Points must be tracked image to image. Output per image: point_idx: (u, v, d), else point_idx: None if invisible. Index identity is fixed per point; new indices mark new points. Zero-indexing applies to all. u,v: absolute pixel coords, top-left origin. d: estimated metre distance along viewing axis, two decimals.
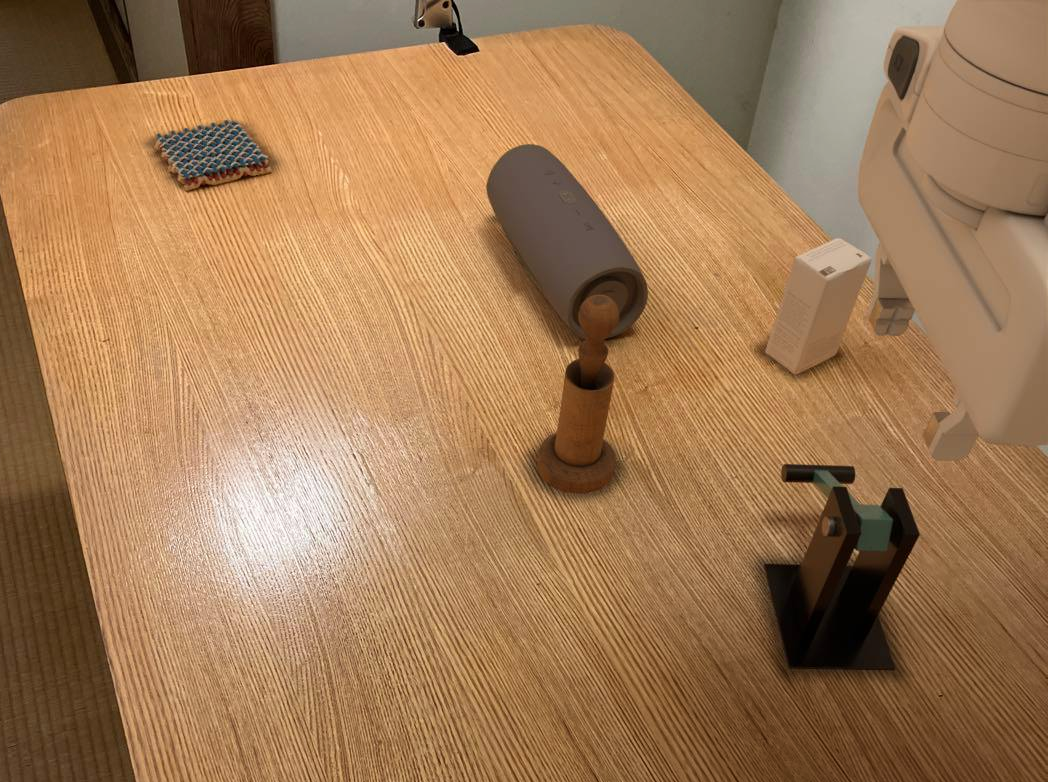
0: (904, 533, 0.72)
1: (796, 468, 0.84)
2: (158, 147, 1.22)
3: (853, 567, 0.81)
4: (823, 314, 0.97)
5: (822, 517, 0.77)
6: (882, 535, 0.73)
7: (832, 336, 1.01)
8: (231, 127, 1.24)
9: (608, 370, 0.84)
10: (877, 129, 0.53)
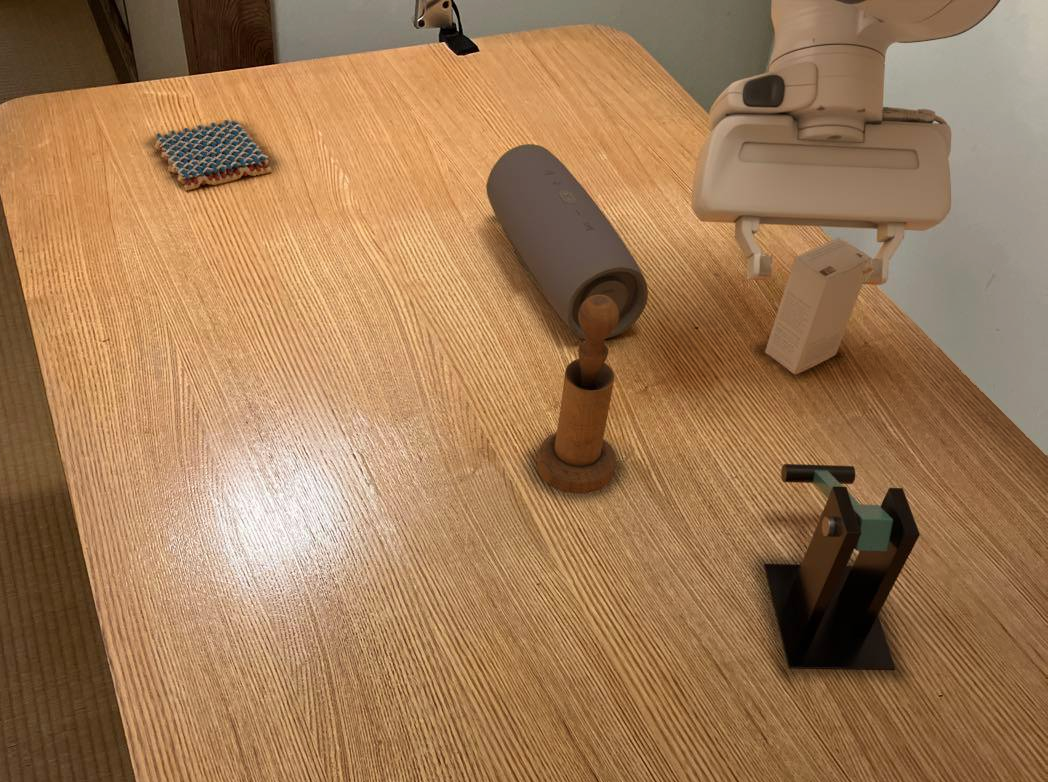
0: (904, 533, 0.72)
1: (796, 468, 0.84)
2: (158, 147, 1.22)
3: (853, 567, 0.81)
4: (824, 314, 0.97)
5: (822, 517, 0.77)
6: (882, 535, 0.73)
7: (832, 336, 1.01)
8: (231, 127, 1.24)
9: (608, 370, 0.84)
10: (722, 153, 0.83)
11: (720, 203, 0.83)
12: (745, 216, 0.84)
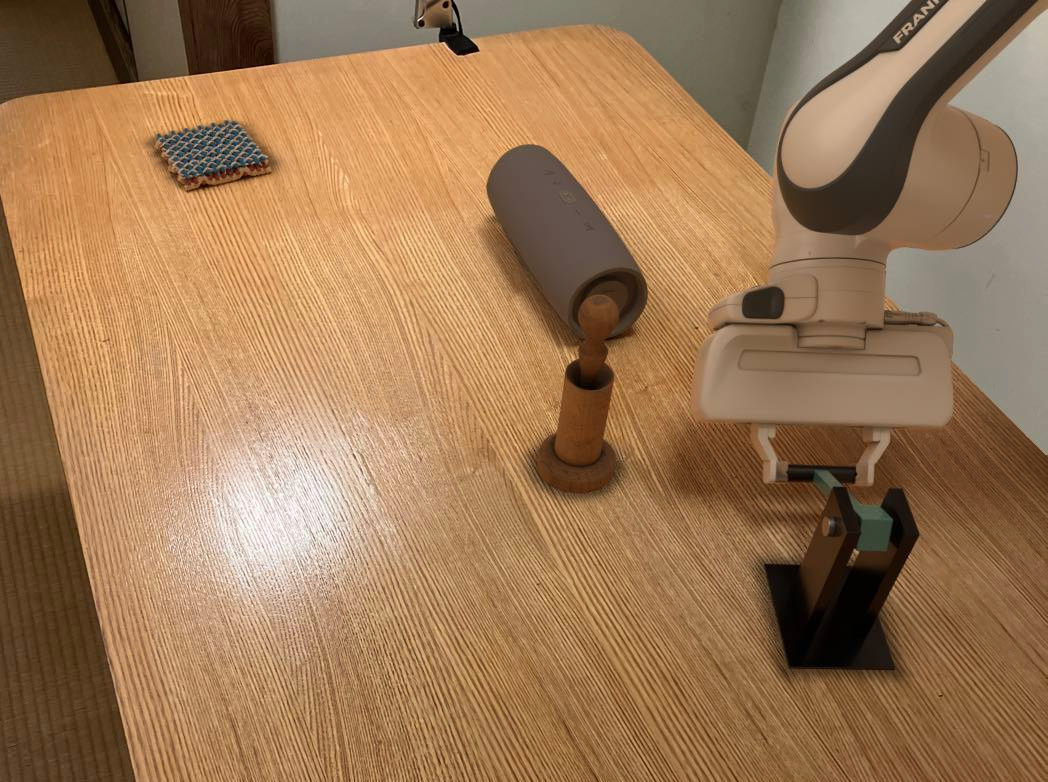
0: (904, 533, 0.72)
1: (796, 468, 0.84)
2: (158, 147, 1.22)
3: (853, 567, 0.81)
4: None
5: (822, 517, 0.77)
6: (882, 535, 0.73)
7: None
8: (231, 127, 1.24)
9: (608, 370, 0.84)
10: (721, 362, 0.82)
11: (719, 412, 0.82)
12: (761, 423, 0.83)
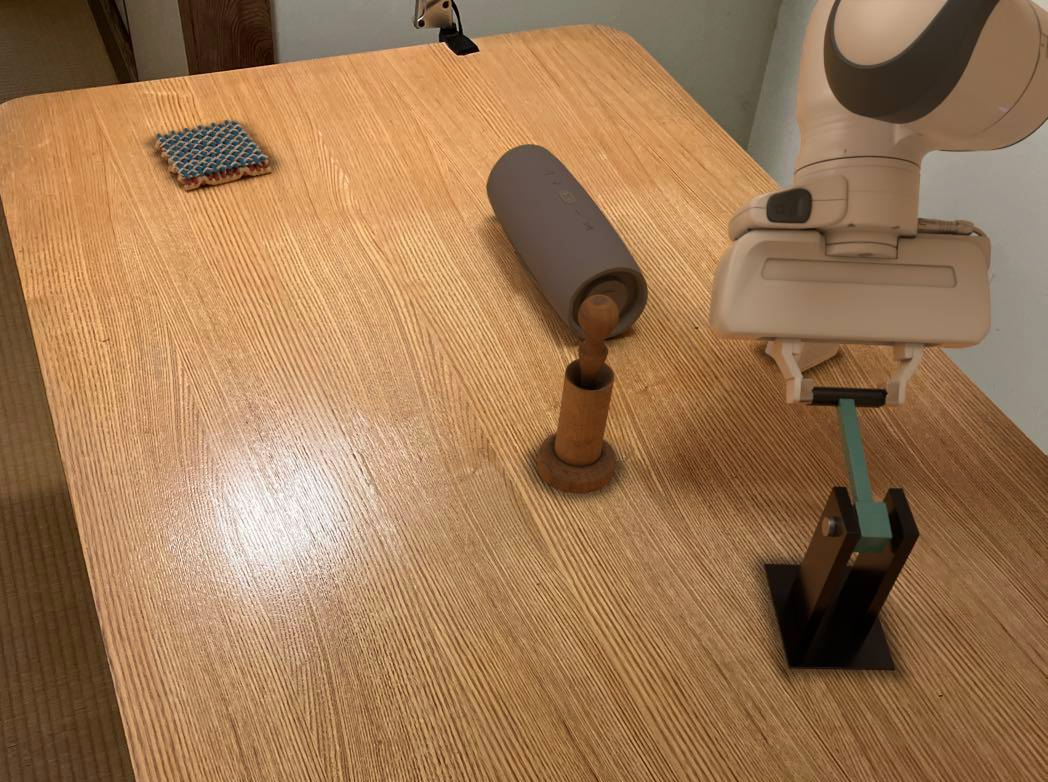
0: (904, 533, 0.72)
1: (820, 397, 0.79)
2: (158, 147, 1.22)
3: (853, 567, 0.81)
4: None
5: (822, 517, 0.77)
6: (878, 545, 0.74)
7: None
8: (231, 127, 1.24)
9: (608, 370, 0.84)
10: (744, 271, 0.76)
11: (741, 324, 0.77)
12: (785, 338, 0.78)
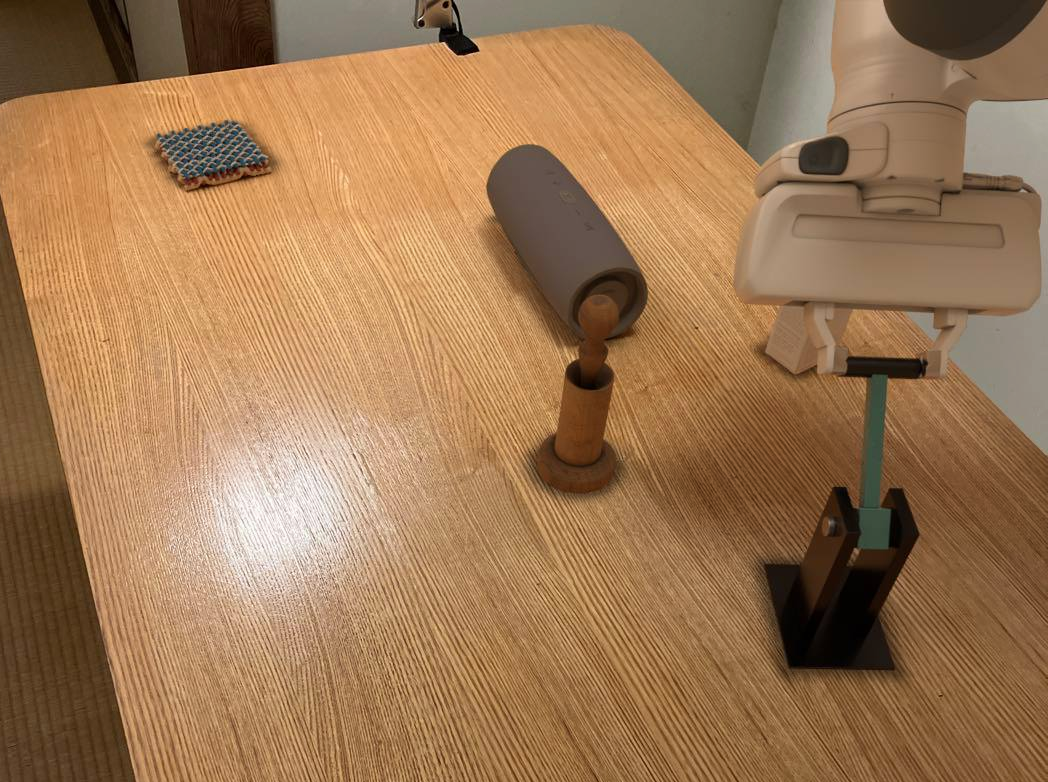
0: (904, 533, 0.72)
1: (852, 373, 0.73)
2: (158, 147, 1.22)
3: (853, 567, 0.81)
4: None
5: (822, 517, 0.77)
6: None
7: None
8: (231, 127, 1.24)
9: (608, 370, 0.84)
10: (773, 228, 0.70)
11: (769, 287, 0.70)
12: (818, 302, 0.71)
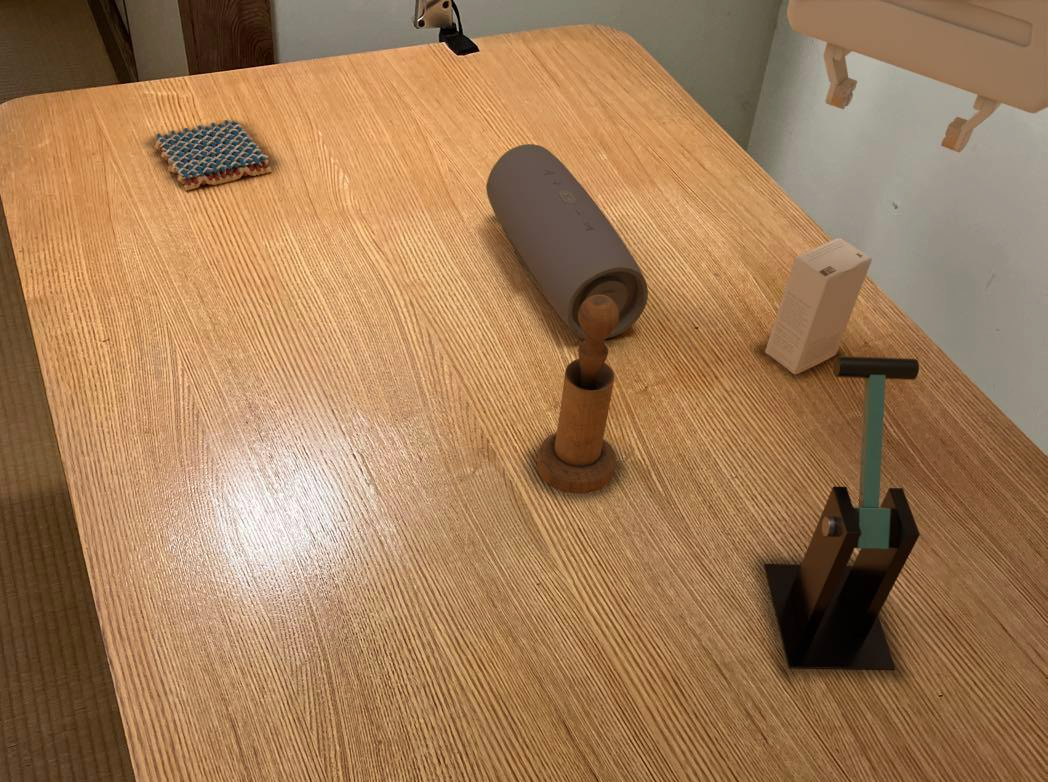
0: (904, 533, 0.72)
1: (850, 373, 0.73)
2: (158, 147, 1.22)
3: (853, 567, 0.81)
4: (823, 314, 0.97)
5: (822, 517, 0.77)
6: None
7: (832, 336, 1.01)
8: (231, 127, 1.24)
9: (608, 370, 0.84)
10: None
11: (801, 25, 0.80)
12: None
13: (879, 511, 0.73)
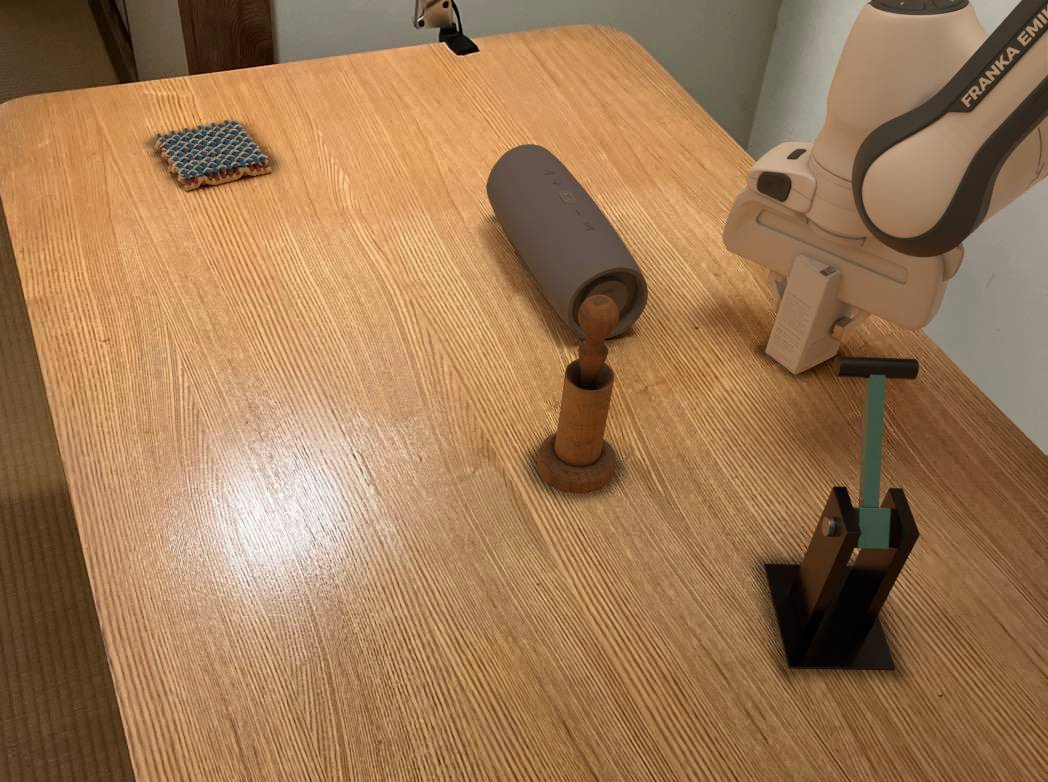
0: (904, 533, 0.72)
1: (850, 373, 0.73)
2: (158, 147, 1.22)
3: (853, 567, 0.81)
4: (824, 314, 0.97)
5: (822, 517, 0.77)
6: None
7: None
8: (231, 127, 1.24)
9: (608, 370, 0.84)
10: (740, 214, 0.96)
11: (733, 248, 0.99)
12: None
13: (879, 511, 0.73)
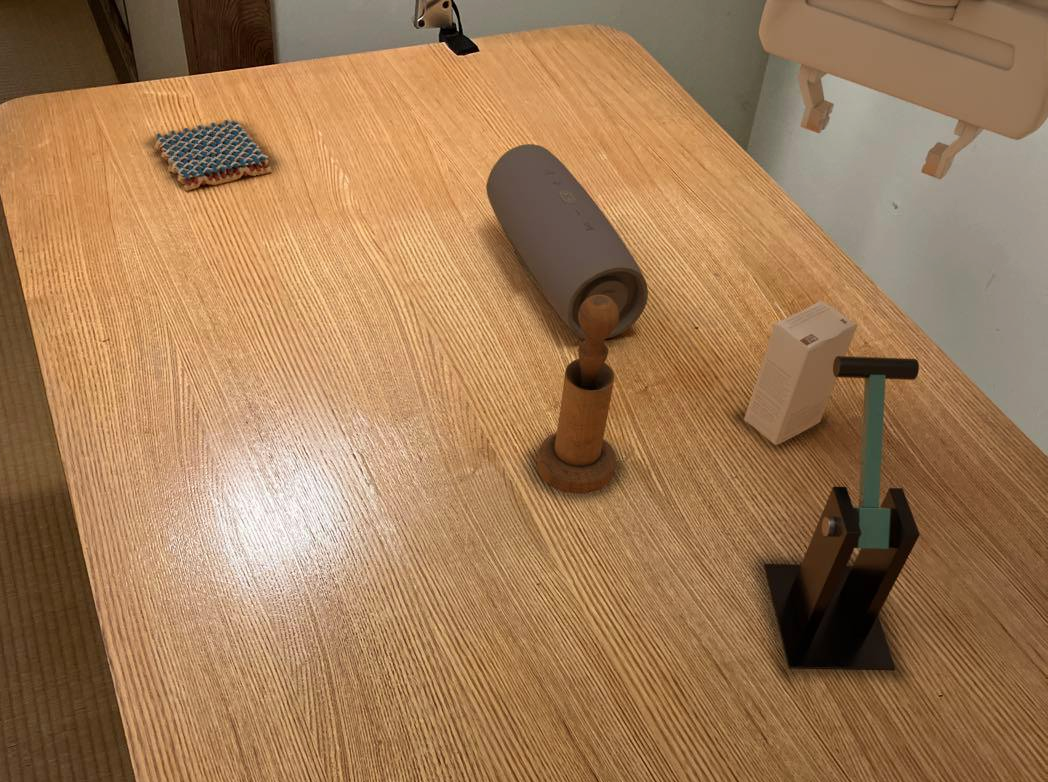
0: (904, 533, 0.72)
1: (850, 373, 0.73)
2: (158, 147, 1.22)
3: (853, 567, 0.81)
4: (805, 384, 0.90)
5: (822, 517, 0.77)
6: None
7: (816, 404, 0.94)
8: (231, 127, 1.24)
9: (608, 370, 0.84)
10: None
11: (774, 46, 0.76)
12: None
13: (879, 511, 0.73)
